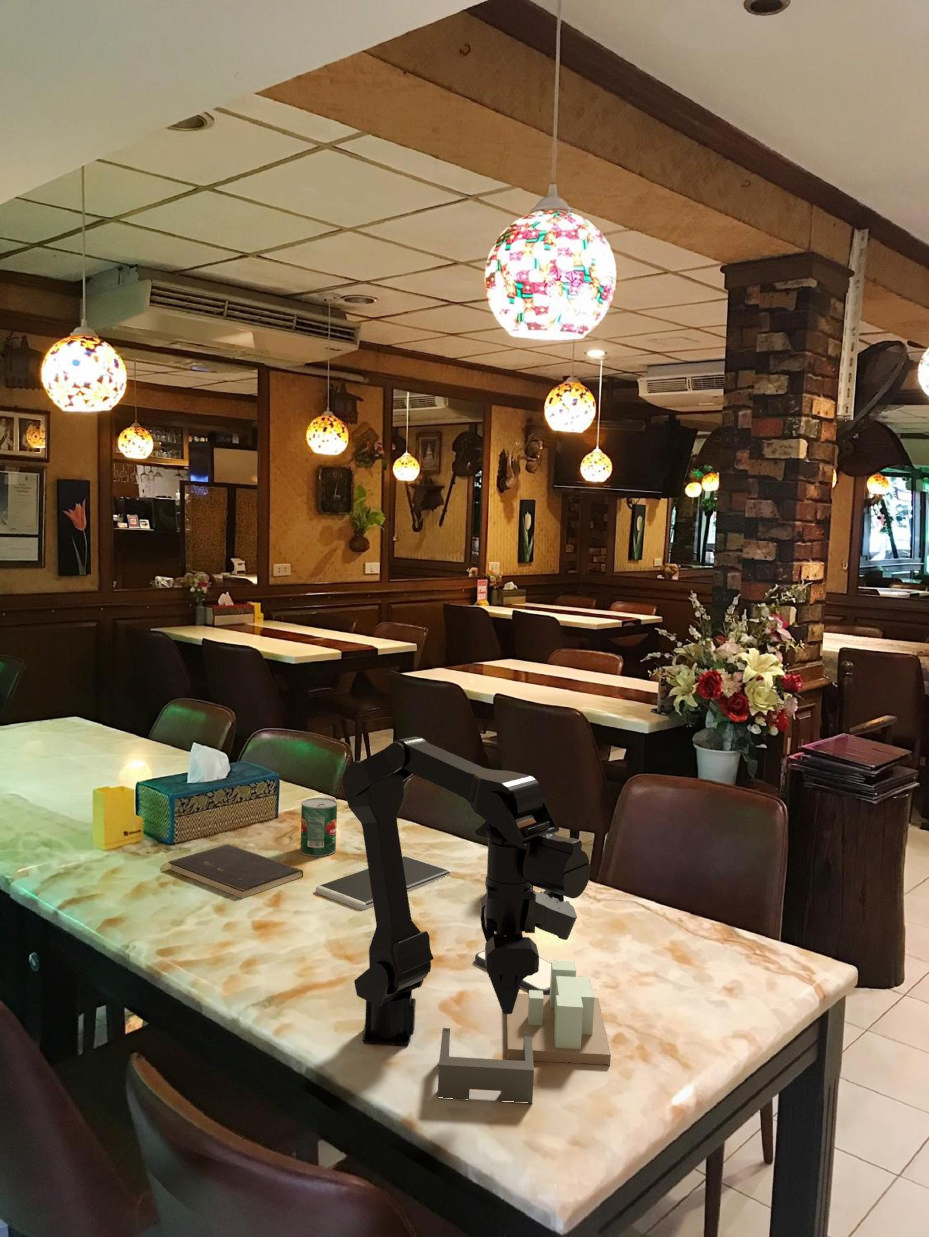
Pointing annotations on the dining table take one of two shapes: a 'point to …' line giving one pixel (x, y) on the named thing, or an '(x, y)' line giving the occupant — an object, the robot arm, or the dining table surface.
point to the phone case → (532, 982)
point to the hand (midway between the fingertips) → (504, 995)
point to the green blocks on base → (560, 1021)
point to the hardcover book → (235, 870)
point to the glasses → (486, 1074)
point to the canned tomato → (318, 827)
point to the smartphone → (358, 885)
